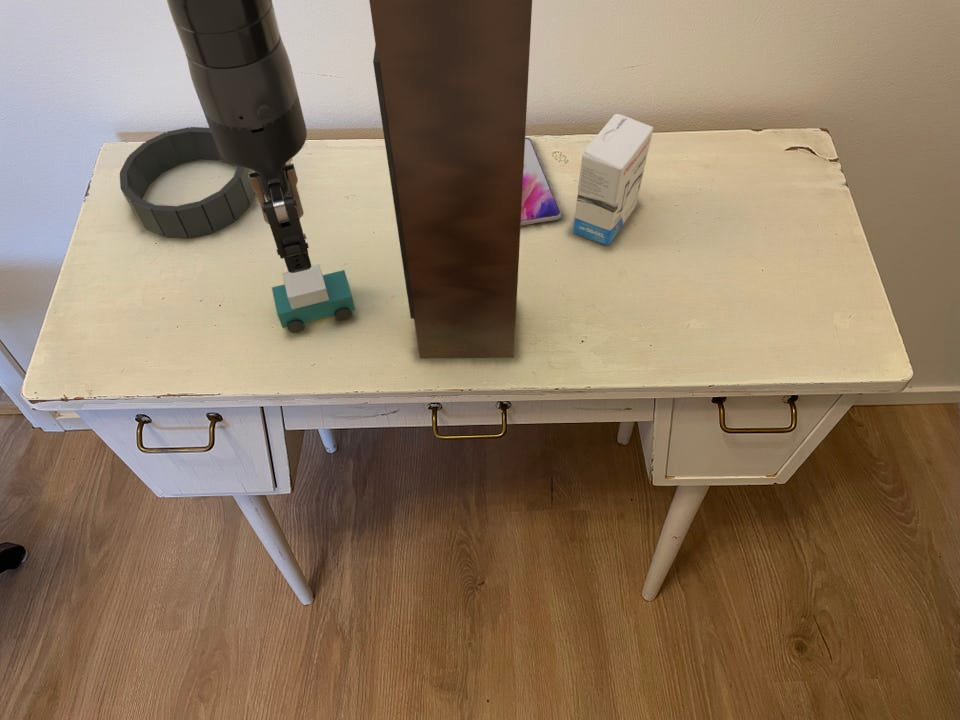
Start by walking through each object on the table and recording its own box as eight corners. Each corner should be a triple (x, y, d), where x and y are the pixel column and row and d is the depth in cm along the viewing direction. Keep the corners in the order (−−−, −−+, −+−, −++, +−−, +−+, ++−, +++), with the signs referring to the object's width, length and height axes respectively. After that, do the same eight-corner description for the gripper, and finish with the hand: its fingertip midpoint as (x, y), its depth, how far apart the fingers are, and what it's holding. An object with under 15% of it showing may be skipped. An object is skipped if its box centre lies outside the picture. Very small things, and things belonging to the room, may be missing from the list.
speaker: (416, 359, 77) (361, -14, 44) (419, 305, 81) (371, -73, 48) (513, 358, 77) (533, -15, 44) (512, 305, 81) (528, -75, 48)
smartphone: (530, 136, 95) (563, 215, 87) (530, 141, 96) (562, 220, 88) (476, 143, 94) (504, 224, 86) (476, 148, 95) (504, 229, 87)
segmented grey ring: (138, 250, 86) (122, 223, 82) (132, 169, 94) (117, 141, 90) (263, 221, 88) (253, 194, 85) (246, 145, 96) (237, 117, 92)
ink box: (607, 248, 85) (622, 170, 76) (570, 232, 87) (580, 154, 77) (638, 204, 89) (656, 125, 80) (602, 189, 91) (615, 110, 81)
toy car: (284, 335, 79) (273, 306, 74) (278, 302, 81) (266, 272, 77) (357, 317, 80) (349, 287, 76) (348, 285, 82) (340, 254, 78)
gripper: (191, 52, 61) (244, 197, 74) (210, 161, 53) (264, 300, 66) (281, 36, 62) (316, 181, 75) (312, 140, 54) (345, 281, 68)
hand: (292, 237), depth 71 cm, fingers open, 8 cm apart
